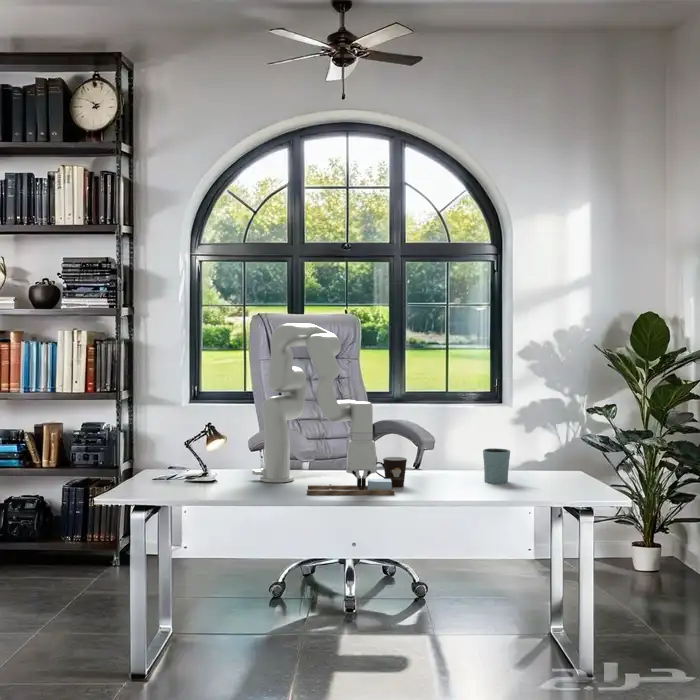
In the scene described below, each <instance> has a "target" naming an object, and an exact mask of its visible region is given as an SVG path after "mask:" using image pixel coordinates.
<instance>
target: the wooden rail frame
mask: <svg viewBox="0 0 700 700" xmlns="http://www.w3.org/2000/svg"><path fill="white" fill-rule="evenodd" d="M361 487H362V484H361ZM393 488H394V487H393V486H392V490H380V489H373V490H368V484H366V487H364V490H362V488H361V490H359V487H357V484H355V485H354V484H351V485H350V484H349V485H348V484H347V485H346V484H342V485H341V484H333V485H332V484H328V485H327V484H307V489H306V495H308V496H395V489H393Z"/></svg>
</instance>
